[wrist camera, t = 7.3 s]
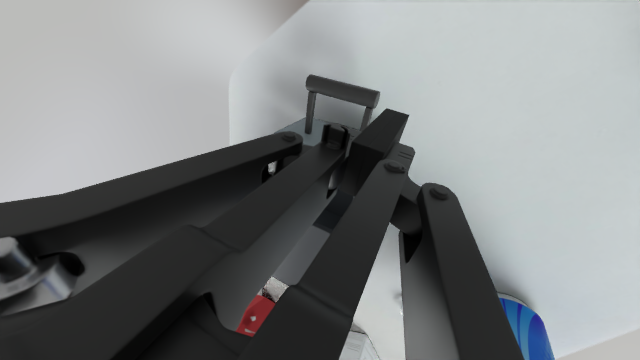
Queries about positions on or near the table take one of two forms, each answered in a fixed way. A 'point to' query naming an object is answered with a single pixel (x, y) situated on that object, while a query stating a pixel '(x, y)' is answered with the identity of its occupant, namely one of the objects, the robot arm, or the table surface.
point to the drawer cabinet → (302, 254)
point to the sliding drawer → (314, 128)
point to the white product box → (358, 348)
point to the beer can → (527, 329)
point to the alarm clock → (255, 314)
